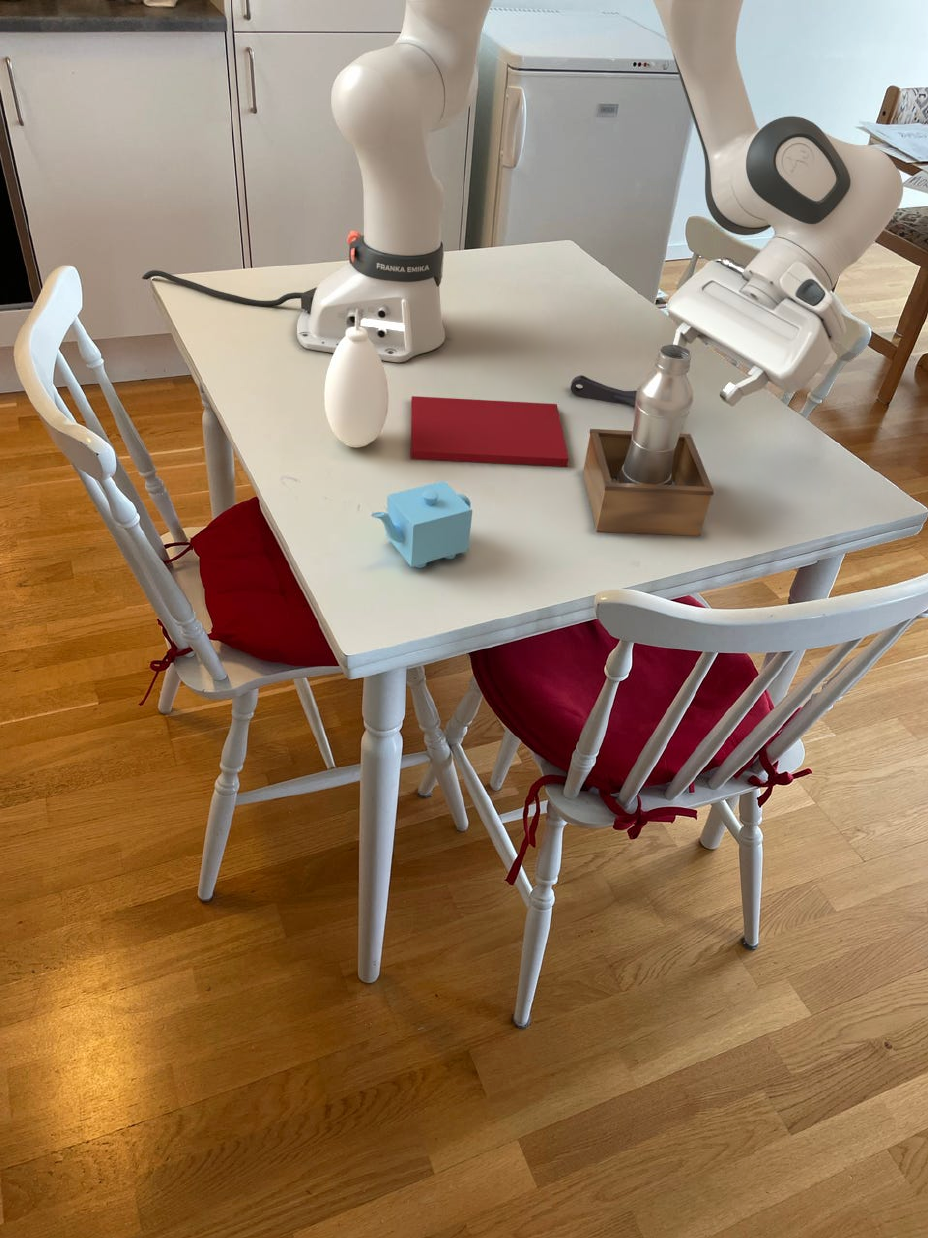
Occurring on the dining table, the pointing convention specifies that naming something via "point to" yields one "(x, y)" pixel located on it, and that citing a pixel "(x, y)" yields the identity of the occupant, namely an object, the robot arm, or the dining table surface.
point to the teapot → (427, 523)
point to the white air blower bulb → (356, 389)
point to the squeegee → (601, 391)
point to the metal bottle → (659, 418)
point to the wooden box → (645, 489)
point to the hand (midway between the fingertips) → (696, 382)
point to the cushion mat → (487, 431)
